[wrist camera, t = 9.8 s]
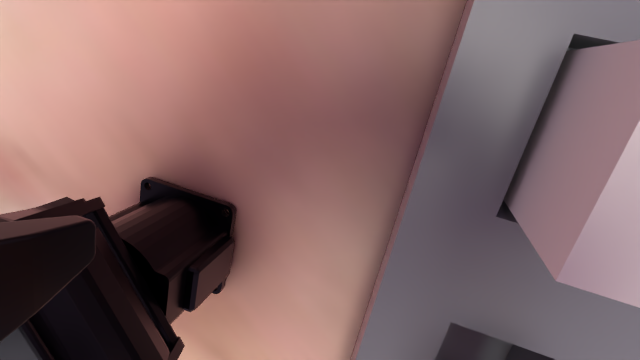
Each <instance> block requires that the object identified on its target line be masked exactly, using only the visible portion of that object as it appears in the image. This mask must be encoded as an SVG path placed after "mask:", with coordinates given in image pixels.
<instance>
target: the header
mask: <svg viewBox="0 0 640 360" xmlns="http://www.w3.org/2000/svg"><path fill="white" fill-rule="evenodd" d="M636 40H640V0H467V2H466V5H465V9H464V12H463V15H462V18H461V21H460V24H459V27H458V30H457V33H456V36H455V39H454V42H453V45H452V49H451V52H450V55H449V58H448V61H447V64H446V67H445V70H444V73H443V76H442V79H441V82H440V86H439V89H438V92H437V95H436V98H435V101H434V104H433V107H432V110H431V113H430V116H429V119H428V122H427V126H426V129H425V132H424V135H423V138H422V141H421V144H420V147H419V150H418V153H417V156H416V159H415V162H414V166H413V169H412V172H411V175H410V178H409V181H408V184H407V187H406V190H405V193H404V196H403V199H402V203H401V206H400V209H399V212H398V215H397V218H396V221H395V224H394V227H393V230H392V233H391V236H390V239H389V243H388V246H387V249H386V252H385V255H384V258H383V261H382V264H381V267H380V270H379V273H378V276H377V280H376V283H375V286H374V289H373V292H372V295H371V298H370V301H369V304H368V307H367V310H366V313H365V316H364V320H363V323H362V326H361V329H360V332H359V335H358V338H357V341H356V344H355V347H354V350H353V353H352V356H351V360H640V308H639V307H635V306H632V305H629V304H626V303H623V302H620V301H617V300H614V299H610V298H607V297H604V296H601V295H598V294H595V293H592V292H588V291H585V290H582V289H579V288H576V287H573V286H570V285H566V284H563V283H560V282H557V281H555V279H554V278H553V276H552V275H551V273H550V271H549V270H548V268H547V267H546V265H545V264H544V262H543V261H542V259H541V257H540V256H539V254H538V253H537V251H536V250H535V248H534V247H533V245H532V243H531V242H530V240H529V239H528V237H527V236H526V234H525V233H524V231H523V229H522V228H521V226H520V225H519V223H518V222H517V220H516V219H515V217H514V216H513V214H512V212H511V211H510V209H509V208H508V206H507V205H506V203H505V202H504V200H503V199H504V197H505V194H506V192H507V190H508V187H509V185H510V183H511V180H512V178H513V175H514V173H515V171H516V168H517V166H518V164H519V161H520V159H521V157H522V154H523V152H524V150H525V147H526V145H527V143H528V140H529V138H530V136H531V133H532V131H533V129H534V126H535V124H536V121H537V119H538V117H539V114H540V112H541V110H542V107H543V105H544V103H545V100H546V98H547V96H548V93H549V91H550V89H551V86H552V84H553V82H554V79H555V77H556V75H557V72H558V70H559V68H560V65H561V63H562V60H563V58H564V56H565V53H566V51H570V50H577V49H583V48H590V47H597V46H603V45H610V44H616V43H623V42H629V41H636Z"/></svg>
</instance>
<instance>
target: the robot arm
mask: <svg viewBox="0 0 640 360" xmlns="http://www.w3.org/2000/svg"><path fill="white" fill-rule="evenodd" d="M149 184H150V185H151V187H150V186H149ZM104 207H105V205H104V203H103V201H102V199H101V198H100V197H98V198H95V199H92V200H89V201H85V199H84V198H82V199H79V200H76V201H74V200H72V199H70V198H68V197H65V198H62V199H59V200H56V201H54V202H51V203H48V204H45V205H42V206H39V207H36V208H32V209H27V210H22V211H17V212H12V213H6V214H1V215H0V360H177V359H178V358H179V356H180V354H181V352H182V350H183V348H184V346H185V345H184V344H183V342H182V340H181V338H180V337H177V336H176V334H175V332H174V330H173V329H172V327H171V325H170V324H171V323H172V322H173V321H174V320H175V319H176V318H177V317H178V316H179V315H180V314H181V313H182V312H183V311H184V310H186V311H189V312H191V311H193V310H195V309H196V308H197V307H198V306H199V305H200V304H201V303H202V302H203V301H204V300H205V299H206V298H207V297H208V296H209V295H210V294H211V293H214V294H218V293H220V292H221V291H222V290H223V288H224V285H225V278H226V277H227V276H228V275H229V273H230V267H231V261H232V254H233V248H234V240H233V238H232V234H233V228H234V222H235V215H236V209H235V207H234V206H233V205H232V204H230V203H228V202H225V201H222V200H219V199H216V198H213V197H210V196H207V195H204V194H201V193H198V192H195V191H192V190H189V189H186V188H183V187H180V186H177V185H174V184H171V183H168V182H165V181H162V180H159V179H156V178H153V177H149V178H146V179H144V180H142V182H141V191H140V203H138V204H136V205H133V206H131V207H129V208H127V209H125V210H123V211H120V212H118V213H116V214H114V215H112V216H110V217H109V216H108V215H107V213H106V211H105V209H104ZM225 209H227V210H228V211H229V214H227V213H226V212H225Z"/></svg>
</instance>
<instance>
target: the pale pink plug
mask: <svg viewBox="0 0 640 360" xmlns="http://www.w3.org/2000/svg"><path fill="white" fill-rule="evenodd" d="M503 200H504V202H505V203H506V205H507V206H508V208H509V209H510V211H511V212H512V214H513V216H514V217H515V219H516V220H517V222H518V223H519V225H520V226H521V228H522V229H523V231H524V233H525V234H526V236H527V237H528V239H529V240H530V242H531V243H532V245H533V247H534V248H535V250H536V251H537V253H538V254H539V256H540V257H541V259H542V261H543V262H544V264H545V265H546V267H547V268H548V270H549V271H550V273H551V275H552V276H553V278H554V279H555V281H557V282H560V283H563V284H566V285H570V286H573V287H576V288H579V289H582V290H585V291H588V292H592V293H595V294H598V295H601V296H604V297H607V298H610V299H614V300H617V301H620V302H623V303H626V304H629V305H632V306H635V307H639V308H640V40H636V41H629V42H623V43H616V44H610V45H603V46H597V47H590V48H583V49H577V50H570V51H566V53H565V56H564V58H563V60H562V63H561V65H560V68H559V70H558V72H557V75H556V77H555V79H554V82H553V84H552V86H551V89H550V91H549V93H548V96H547V98H546V100H545V103H544V105H543V107H542V110H541V112H540V114H539V117H538V119H537V121H536V124H535V126H534V129H533V131H532V133H531V136H530V138H529V140H528V143H527V145H526V147H525V150H524V152H523V154H522V157H521V159H520V161H519V164H518V166H517V168H516V171H515V173H514V175H513V178H512V180H511V183H510V185H509V187H508V190H507V192H506V194H505V197H504V199H503Z"/></svg>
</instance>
